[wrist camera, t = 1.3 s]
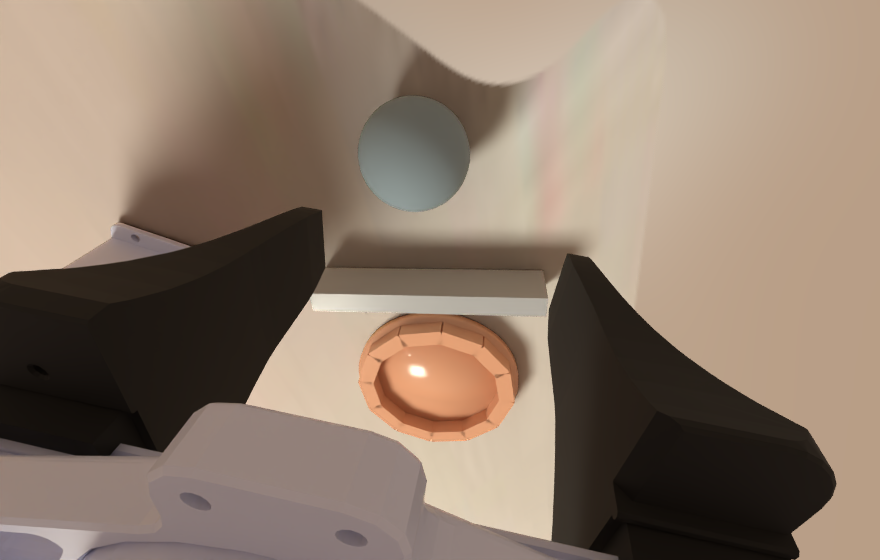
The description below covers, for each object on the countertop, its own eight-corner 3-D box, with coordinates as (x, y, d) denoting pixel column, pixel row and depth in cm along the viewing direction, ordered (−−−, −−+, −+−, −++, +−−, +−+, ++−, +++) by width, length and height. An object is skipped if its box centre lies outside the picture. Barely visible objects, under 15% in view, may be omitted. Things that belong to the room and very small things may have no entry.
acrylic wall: (329, 283, 27) (313, 310, 25) (325, 267, 26) (308, 293, 24) (541, 287, 25) (546, 316, 23) (543, 270, 25) (548, 298, 22)
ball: (363, 168, 23) (332, 206, 18) (387, 69, 20) (358, 88, 16) (452, 201, 23) (442, 246, 19) (488, 109, 20) (486, 137, 16)
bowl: (346, 399, 33) (340, 416, 31) (383, 289, 27) (377, 304, 25) (481, 442, 34) (481, 460, 32) (546, 345, 28) (548, 362, 26)
